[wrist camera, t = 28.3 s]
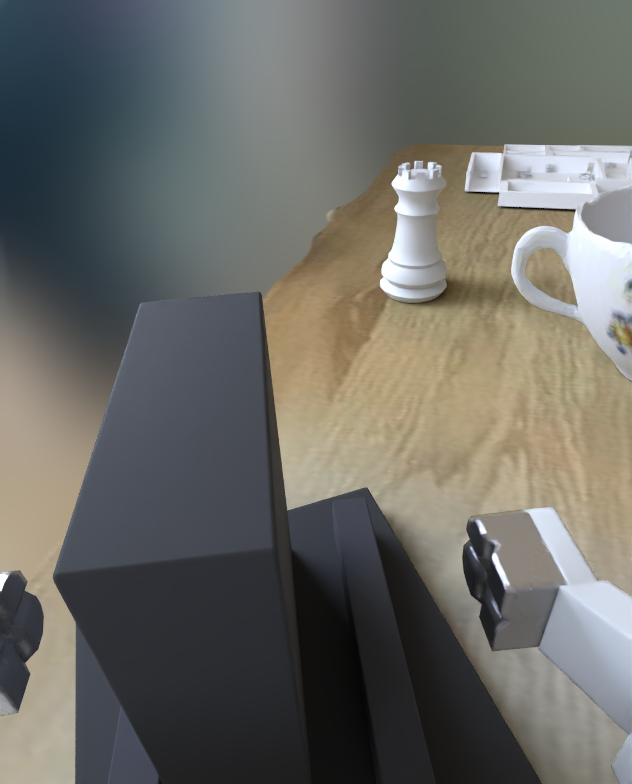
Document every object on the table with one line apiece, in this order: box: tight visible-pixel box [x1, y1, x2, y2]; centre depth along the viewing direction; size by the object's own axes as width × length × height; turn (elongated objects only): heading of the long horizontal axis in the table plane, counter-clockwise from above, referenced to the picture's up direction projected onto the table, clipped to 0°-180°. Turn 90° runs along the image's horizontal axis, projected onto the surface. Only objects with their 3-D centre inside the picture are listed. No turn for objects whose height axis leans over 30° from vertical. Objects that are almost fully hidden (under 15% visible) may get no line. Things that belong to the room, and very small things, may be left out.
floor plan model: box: [465, 145, 632, 209], centre depth 53 cm, size 19×25×2 cm
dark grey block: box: [53, 292, 313, 784], centre depth 14 cm, size 8×3×10 cm, turn 6°
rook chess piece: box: [380, 161, 447, 303], centre depth 35 cm, size 4×4×8 cm
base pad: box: [75, 488, 542, 784], centre depth 16 cm, size 11×11×3 cm
